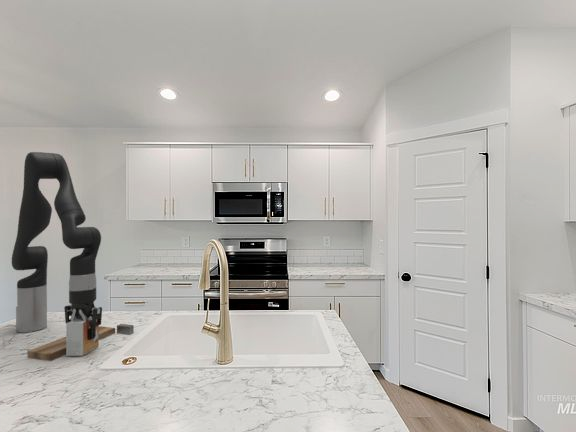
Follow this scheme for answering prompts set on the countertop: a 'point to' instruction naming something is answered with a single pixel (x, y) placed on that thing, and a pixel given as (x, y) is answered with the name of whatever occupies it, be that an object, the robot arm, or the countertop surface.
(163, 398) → the countertop surface
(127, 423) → the countertop surface
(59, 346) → the plank
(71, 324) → the small box
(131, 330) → the block
